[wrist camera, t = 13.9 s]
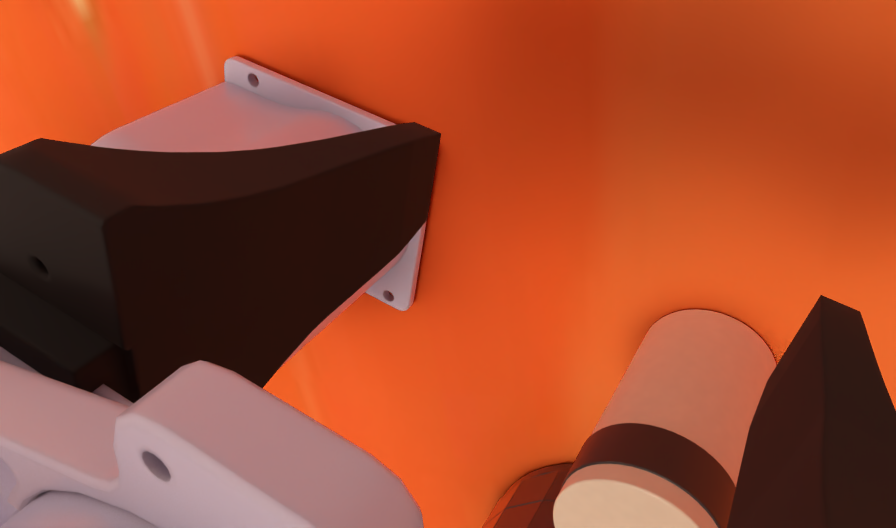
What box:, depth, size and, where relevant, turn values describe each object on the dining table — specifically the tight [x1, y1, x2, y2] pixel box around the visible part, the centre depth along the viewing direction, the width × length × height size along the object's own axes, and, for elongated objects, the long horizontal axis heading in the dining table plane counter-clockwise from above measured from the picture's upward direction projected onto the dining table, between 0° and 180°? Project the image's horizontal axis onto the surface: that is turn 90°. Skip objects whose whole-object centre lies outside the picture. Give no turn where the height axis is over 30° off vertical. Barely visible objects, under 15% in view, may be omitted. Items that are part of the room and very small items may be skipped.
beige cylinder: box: [553, 309, 776, 528], centre depth 22 cm, size 4×4×8 cm
